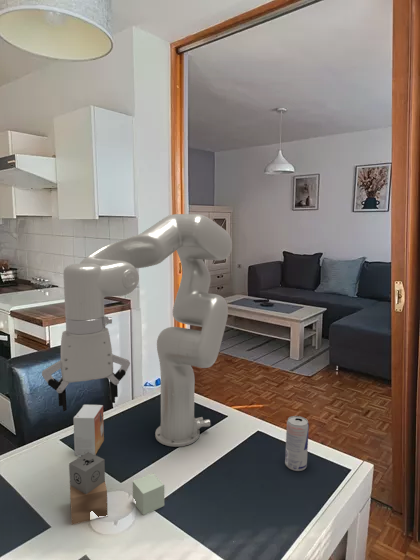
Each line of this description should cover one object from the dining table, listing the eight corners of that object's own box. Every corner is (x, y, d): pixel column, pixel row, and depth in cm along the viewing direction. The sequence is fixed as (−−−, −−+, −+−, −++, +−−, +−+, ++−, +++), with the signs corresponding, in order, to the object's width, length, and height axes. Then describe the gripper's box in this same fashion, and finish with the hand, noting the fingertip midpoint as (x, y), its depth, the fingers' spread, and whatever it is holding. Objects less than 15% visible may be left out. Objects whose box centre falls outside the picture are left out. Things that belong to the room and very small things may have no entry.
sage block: (153, 493, 90) (153, 472, 89) (164, 506, 86) (164, 484, 85) (132, 502, 87) (132, 481, 86) (143, 515, 83) (143, 493, 82)
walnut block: (103, 495, 89) (103, 470, 88) (107, 516, 83) (106, 490, 82) (70, 503, 87) (69, 477, 86) (71, 525, 80) (70, 498, 79)
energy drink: (308, 462, 102) (310, 418, 101) (304, 474, 98) (306, 427, 96) (287, 457, 105) (289, 413, 103) (282, 468, 100) (284, 423, 98)
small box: (95, 456, 104) (94, 418, 102) (74, 455, 104) (72, 417, 103) (104, 440, 112) (103, 404, 110) (84, 439, 112) (83, 403, 110)
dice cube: (86, 494, 81) (85, 471, 80) (70, 485, 83) (69, 463, 83) (105, 481, 85) (104, 459, 84) (89, 473, 87) (88, 452, 87)
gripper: (125, 317, 88) (127, 390, 90) (39, 324, 81) (44, 403, 84) (131, 325, 81) (133, 405, 83) (38, 334, 74) (44, 420, 77)
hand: (89, 404), depth 84 cm, fingers open, 9 cm apart
